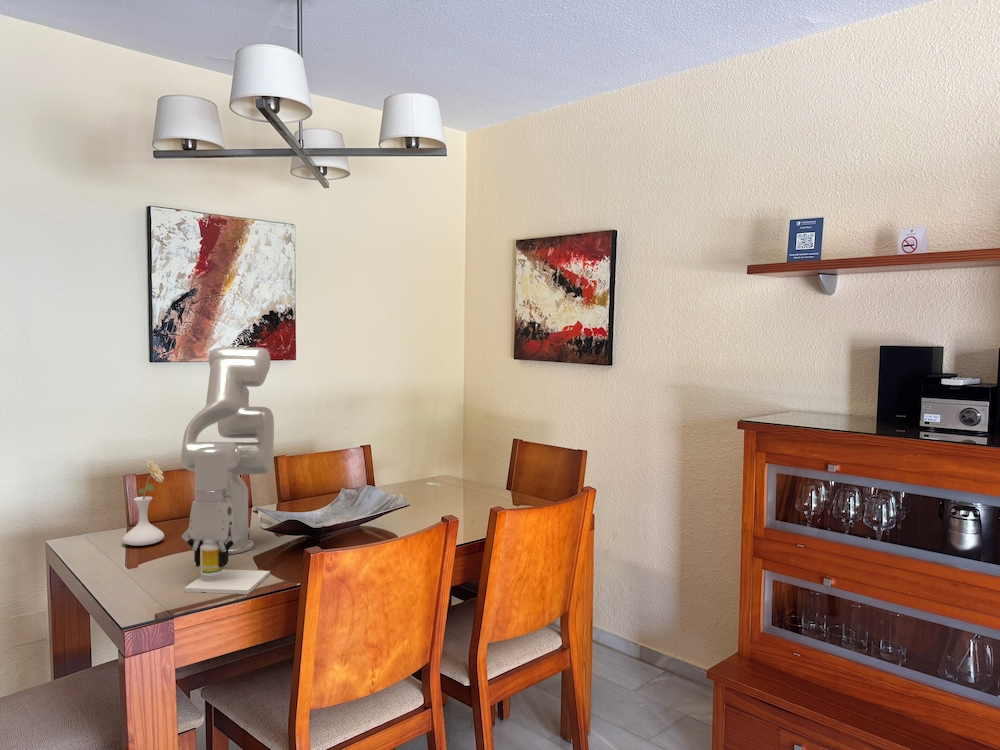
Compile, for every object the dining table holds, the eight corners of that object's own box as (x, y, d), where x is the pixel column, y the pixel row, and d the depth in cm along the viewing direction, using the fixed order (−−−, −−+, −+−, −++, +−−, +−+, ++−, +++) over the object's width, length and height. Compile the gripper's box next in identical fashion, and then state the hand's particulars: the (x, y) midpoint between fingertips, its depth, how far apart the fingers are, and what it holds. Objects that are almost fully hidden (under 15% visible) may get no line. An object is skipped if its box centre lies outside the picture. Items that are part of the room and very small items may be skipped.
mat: (211, 572, 184) (211, 569, 184) (269, 574, 183) (269, 571, 183) (184, 591, 170) (184, 587, 170) (247, 594, 169) (247, 590, 169)
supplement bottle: (196, 572, 177) (196, 535, 176) (217, 567, 180) (216, 531, 180) (205, 577, 173) (205, 539, 172) (226, 572, 177) (226, 535, 176)
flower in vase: (146, 550, 202) (146, 465, 201) (113, 547, 204) (112, 463, 203) (176, 537, 215) (175, 458, 213) (144, 535, 217) (143, 456, 216)
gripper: (250, 493, 179) (250, 561, 180) (185, 491, 180) (186, 559, 181) (237, 499, 171) (238, 571, 172) (170, 497, 172) (171, 569, 173)
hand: (211, 564), depth 177 cm, fingers closed on supplement bottle, 5 cm apart
